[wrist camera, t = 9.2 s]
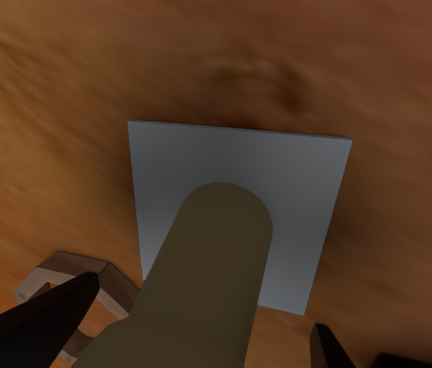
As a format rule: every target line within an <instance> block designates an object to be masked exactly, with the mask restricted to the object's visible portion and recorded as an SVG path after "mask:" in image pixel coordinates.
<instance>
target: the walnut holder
mask: <svg viewBox="0 0 432 368" xmlns="http://www.w3.org/2000/svg"><path fill="white" fill-rule="evenodd" d="M86 271H93V272H96V273H98V276H99V281H100V291H99V293H98V294H97V296H96V299H97V300H98V301H99V302H100V303H102V304H103V305H104V306H105V307H106V308H107V309H108V310H109V311H110V312H111V313H112V314H113V315H115V316H116V317H117V318H118V319H119V320H122V319H124V318H126V317H128V315H129V313H130V311H131V308H132V306H133V304H134V302H135V300H136V298H137V296H138V294H139V292H140V291H139V290H138V289H137V288H136V287H135V286H134V285H133V284H132V283H131V282H130V281H129V280H128V279H127V278H126V277H125V276H124V275H123V274H122V273H121V272H120V271H118V270H117V269H116V268H115V267H114V266H113V265H112V264H111V263H110V264H109V262H107V261H102V260H97V259H92V258H88V257H83V256H78V255H74V254H69V253H64V252H60V251H57V252H56V253H55V254H53V255H52V256H51V257H49V258H48V259H47V260H45V261H44V262H43V263H41V264H40V265H39V266H37V267H36V268H35V269H34V270H33V271H32V272H31V273H30V274H29V275H28V276H27V277H26V278H25V279H24V280H23V281H22V282H21V283H20V284H19V285H18V286H17V287H16V288H15V290H14V291H13V292H14V295H15V297H16V300H17V302H18V305H20V304H22V303H24V302H26V301H28V300H30V299H32V298H34V297H36V296H38V295H40V294H42V293H44V292H46V291H48V290H50V288H49V284H48V282H50V283H54V284H58V285H60V284H62V283H64V282H66V281H68V280H70V279H72V278H74V277H76V276H78V275H80V274H82V273H84V272H86ZM92 340H93V338H89V337H86V336H84V335H83V334H82V333H81V332H80V331H79V330H77V329H76V331H75V332H74V333H73V335H72V336H71V338H70V339H69V340H68V342H67V343H66V345H65V346H64V347H63V349H62V350H61V352H60V353H59V354H58V356H60V357H61V358H62V359H63V360H64V361H66V362H67V363H68V364H71V365H73V364H74V362H75V361H76V360H77V358H78V357H79V356H80V354H81V353H82V352H83V351H84V349H85V348H86V347H87V345H88V344H89V343H90V342H91V341H92Z"/></svg>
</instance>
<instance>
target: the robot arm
mask: <svg viewBox="0 0 432 368" xmlns="http://www.w3.org/2000/svg"><path fill="white" fill-rule="evenodd" d="M99 291H100V281H99V276H98V273H96V272H93V271H86V272H84V273H82V274H80V275H78V276H76V277H74V278H72V279H70V280H68V281H66V282H64V283H62V284H60V285H58V286H56V287H54V288H52V289H50V290H48V291H46V292H44V293H42V294H40V295H38V296H36V297H34V298H32V299H30V300H28V301H26V302H24V303H22V304H20V305H18V306H16V307H14V308H12V309H10V310H8V311H6V312H4V313H2V314H0V368H49V367H50V366H51V364H52V363H53V361H54V360H55V359H56V357H57V356H58V354H59V353H60V352H61V350H62V349H63V347H64V346H65V345H66V343H67V342H68V340H69V339H70V338H71V336H72V335H73V333H74V332H75V331H76V329H77V328H78V326H79V324H80V323H81V321H82V320H83V318H84V316H85V315H86V313H87V311H88V310H89V308H90V306H91V305H92V303H93V301H94V300H95V298H96V296H97V294H98V293H99ZM310 356H311V368H356V367H355V365H354V364H353V362H352V361H351V359H350V358H349V356H348V355H347V353H346V352H345V350H344V349H343V347H342V346H341V345H340V343H339V342H338V340H337V339H336V337H335V336H334V334H333V333H332V331H331V330H330V328H329V327H328V326H327V325H325V324H321V323H315V324H314V326H313V329H312V333H311V336H310ZM373 368H432V366H427V365H423V364H419V363H415V362H411V361H407V360H402V359H398V358H394V357H390V356H381V357H379V358H378V359H377V361H376V363H375V365H374V367H373Z"/></svg>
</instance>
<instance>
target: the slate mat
mask: <svg viewBox="0 0 432 368" xmlns="http://www.w3.org/2000/svg"><path fill="white" fill-rule="evenodd" d="M127 124H128V134H129V144H130V155H131V165H132V175H133V185H134V195H135V206H136V216H137V226H138V236H139V246H140V256H141V267H142V277H143V280H145V279H146V277H147V275H148V273H149V271H150V269H151V267H152V265H153V263H154V261H155V259H156V257H157V255H158V252H159V250H160V248H161V246H162V244H163V242H164V240H165V238H166V236H167V234H168V232H169V230H170V228H171V225H172V223H173V221H174V219H175V217H176V215H177V213H178V211H179V209H180V207H181V205H182V203H183V202H184V200H185V199H186V198H187V196H188V195H189V193H191V192H193V191H194V190H196V189H197V188H199V187H200V186H203V185H207V184H211V183H215V182H218V183H232V184H235V185H237V186H240V187H243V188H245V189H248V190H249V191H250V192H252V193H253V194H254V195H256V196H257V197H258V198H260V199H261V201H262V202H263V204H264V205H265V206H266V208H267V209H268V211H269V213H270V216H271V220H272V223H273V233H272V241H271V245H270V250H269V254H268V259H267V263H266V268H265V272H264V277H263V281H262V286H261V290H260V295H259V299H258V304H257V305H259V306H264V307H268V308H273V309H277V310H282V311H286V312H291V313H295V314H299V315H304V313H305V309H306V305H307V302H308V298H309V295H310V291H311V288H312V284H313V281H314V277H315V273H316V270H317V266H318V263H319V259H320V256H321V252H322V248H323V245H324V241H325V238H326V234H327V231H328V227H329V223H330V220H331V216H332V213H333V209H334V206H335V202H336V198H337V195H338V191H339V188H340V184H341V181H342V177H343V173H344V170H345V166H346V163H347V159H348V156H349V152H350V149H351V145H352V141H353V140H352V139H350V138H348V137H339V136H327V135H314V134H302V133H290V132H278V131H266V130H254V129H241V128H229V127H217V126H205V125H193V124H181V123H168V122H156V121H144V120H131V121H127Z"/></svg>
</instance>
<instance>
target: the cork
mask: <svg viewBox="0 0 432 368" xmlns="http://www.w3.org/2000/svg"><path fill="white" fill-rule="evenodd" d="M272 233H273V223H272V220H271V216H270V213H269V211H268V209H267V208H266V206H265V205H264V204H263V202H262V201H261V199H260V198H258V197H257V196H256V195H254V194H253V193H252V192H250V191H249V190H248V189H245V188H243V187H240V186H237V185H235V184H232V183H218V182H215V183H211V184H207V185H203V186H200V187H199V188H197V189H196V190H194V191H193V192H191V193H189V195H188V196H187V198H186V199H185V200H184V202H183V203H182V205H181V207H180V209H179V211H178V213H177V215H176V217H175V219H174V221H173V223H172V225H171V228H170V230H169V232H168V234H167V236H166V238H165V240H164V242H163V244H162V246H161V248H160V250H159V252H158V255H157V257H156V259H155V261H154V263H153V265H152V267H151V269H150V271H149V273H148V275H147V277H146V279H145V282H144V284H143V286H142V288H141V290H140V292H139V294H138V296H137V298H136V300H135V302H134V304H133V306H132V308H131V311H130V313H129V315H128V317H126V318H124V319H122V320H119V321H117V322H115V323H112V324H110V325H108V326H107V327H106V328H105V329H104V330H103V331H102V332H101V333H100V334H99V335H97V336H96V337H95V338H94V339H93V340H92V341H91V342H90V343H89V344H88V345H87V347H86V348H85V349H84V351H83V352H82V353H81V354H80V356H79V357H78V358H77V360H76V361H75V362H74V364H73V365H72V366H71V368H244V362H245V357H246V353H247V348H248V344H249V339H250V335H251V330H252V326H253V321H254V317H255V312H256V308H257V304H258V299H259V295H260V290H261V286H262V281H263V277H264V272H265V268H266V263H267V259H268V254H269V250H270V245H271V241H272Z"/></svg>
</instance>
